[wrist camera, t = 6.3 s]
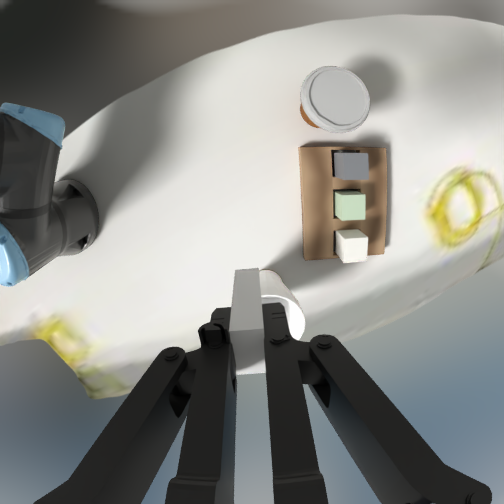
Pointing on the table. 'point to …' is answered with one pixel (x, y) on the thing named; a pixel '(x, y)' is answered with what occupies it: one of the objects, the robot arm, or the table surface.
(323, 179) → the button board
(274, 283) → the cup
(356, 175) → the gray button
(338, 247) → the white block
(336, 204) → the pale green block
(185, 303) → the table surface
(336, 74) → the disposable coffee cup
